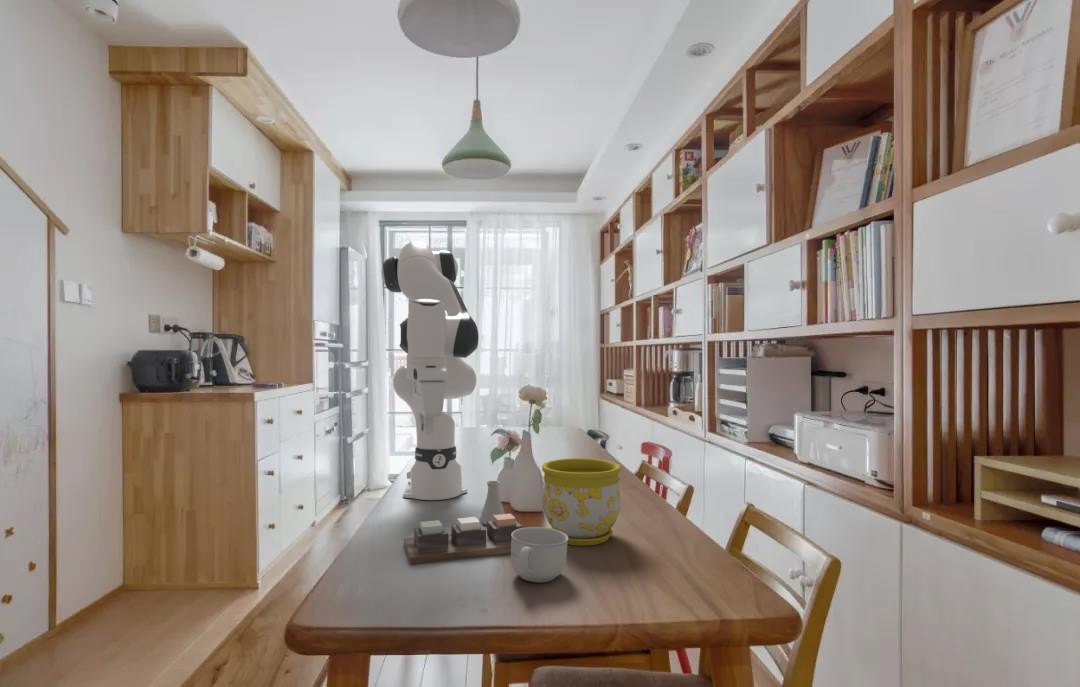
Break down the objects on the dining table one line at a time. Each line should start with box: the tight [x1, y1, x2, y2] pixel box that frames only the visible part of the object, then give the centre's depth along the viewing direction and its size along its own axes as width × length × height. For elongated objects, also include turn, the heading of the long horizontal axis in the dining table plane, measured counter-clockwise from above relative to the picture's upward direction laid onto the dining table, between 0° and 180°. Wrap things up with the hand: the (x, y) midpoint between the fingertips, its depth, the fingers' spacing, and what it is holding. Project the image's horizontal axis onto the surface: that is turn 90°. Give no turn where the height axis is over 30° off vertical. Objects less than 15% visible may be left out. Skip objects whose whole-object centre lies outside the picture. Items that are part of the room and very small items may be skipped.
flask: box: [478, 480, 506, 526], centre depth 146 cm, size 7×7×10 cm
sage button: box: [419, 520, 443, 535], centre depth 123 cm, size 4×4×2 cm
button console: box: [403, 520, 523, 566], centre depth 126 cm, size 12×26×4 cm, turn 109°
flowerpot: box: [541, 457, 622, 547], centre depth 134 cm, size 18×18×16 cm
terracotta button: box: [493, 513, 517, 527], centre depth 129 cm, size 4×4×2 cm
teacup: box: [510, 526, 568, 583], centre depth 109 cm, size 14×11×8 cm
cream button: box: [456, 516, 480, 531], centre depth 126 cm, size 4×4×2 cm
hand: (426, 433), depth 130 cm, fingers open, 3 cm apart
